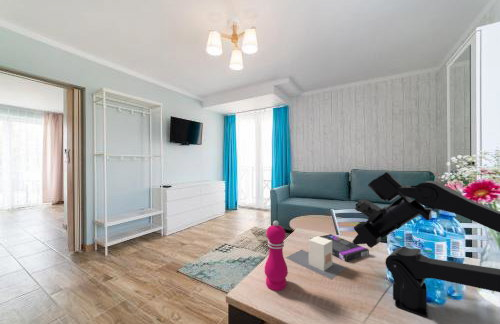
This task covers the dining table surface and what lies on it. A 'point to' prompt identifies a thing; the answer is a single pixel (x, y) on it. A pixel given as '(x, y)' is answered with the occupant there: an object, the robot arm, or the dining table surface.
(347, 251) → the box
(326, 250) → the block
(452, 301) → the dining table surface
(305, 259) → the mat
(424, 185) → the robot arm
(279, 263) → the pepper mill
